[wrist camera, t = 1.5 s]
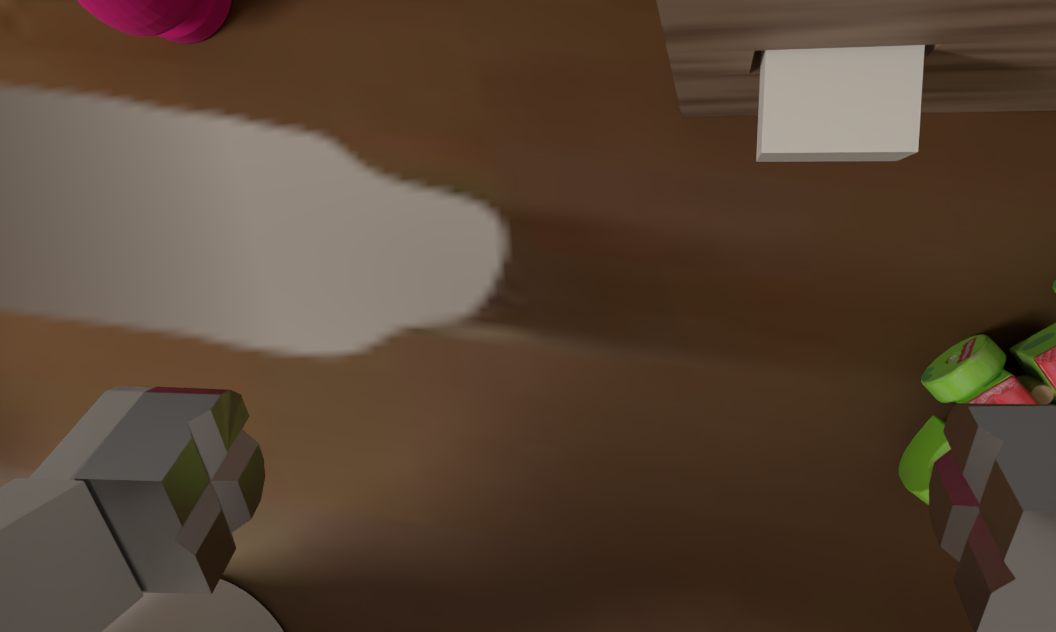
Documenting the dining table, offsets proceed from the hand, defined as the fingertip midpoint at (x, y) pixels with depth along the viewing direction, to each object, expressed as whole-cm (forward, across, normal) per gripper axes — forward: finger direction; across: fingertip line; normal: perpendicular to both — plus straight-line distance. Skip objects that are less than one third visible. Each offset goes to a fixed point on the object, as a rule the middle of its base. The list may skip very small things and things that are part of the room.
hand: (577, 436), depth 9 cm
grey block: (+25, +8, -4) cm, 26 cm away
